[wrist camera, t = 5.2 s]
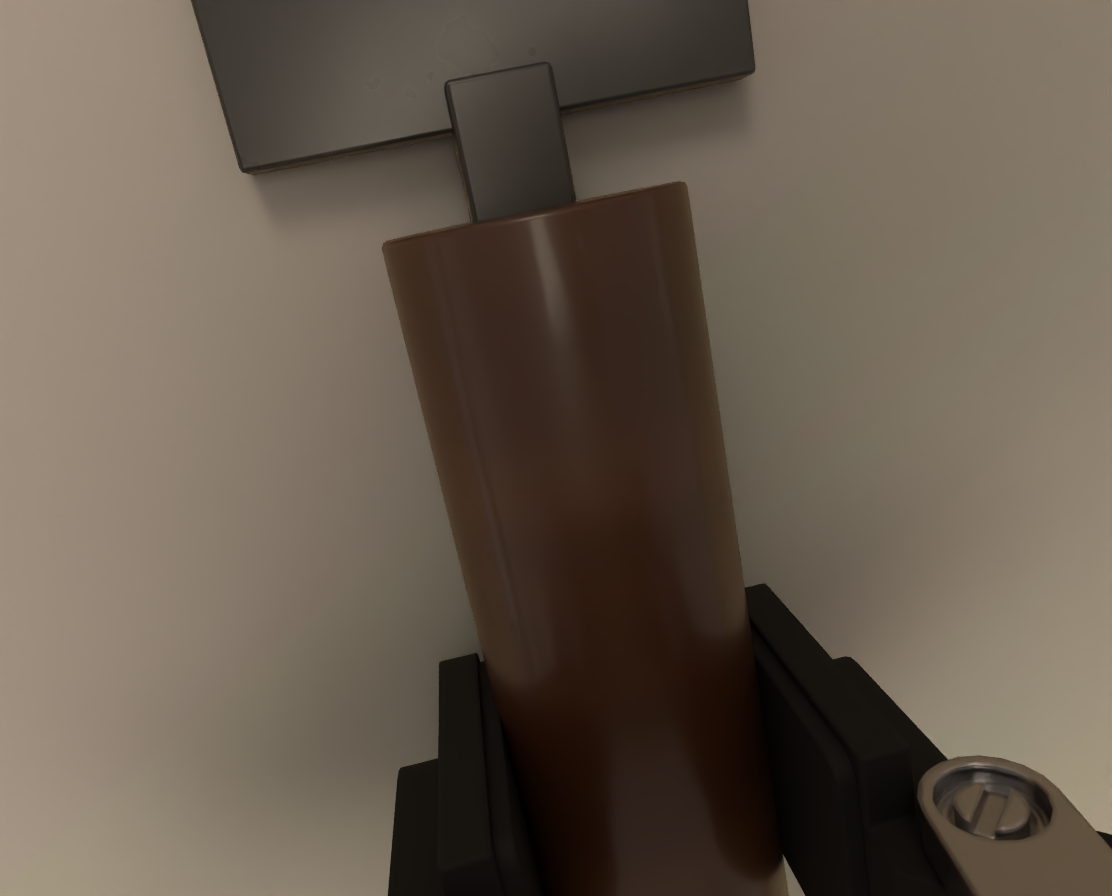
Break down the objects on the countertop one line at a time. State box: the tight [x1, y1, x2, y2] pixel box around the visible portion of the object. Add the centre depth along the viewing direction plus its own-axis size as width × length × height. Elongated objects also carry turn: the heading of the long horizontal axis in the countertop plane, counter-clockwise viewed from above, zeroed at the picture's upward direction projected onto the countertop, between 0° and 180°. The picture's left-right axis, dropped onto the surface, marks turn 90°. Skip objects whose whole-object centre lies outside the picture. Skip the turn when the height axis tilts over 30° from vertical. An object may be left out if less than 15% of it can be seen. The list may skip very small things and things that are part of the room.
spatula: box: [191, 0, 789, 896], centre depth 9 cm, size 23×6×3 cm, turn 11°
